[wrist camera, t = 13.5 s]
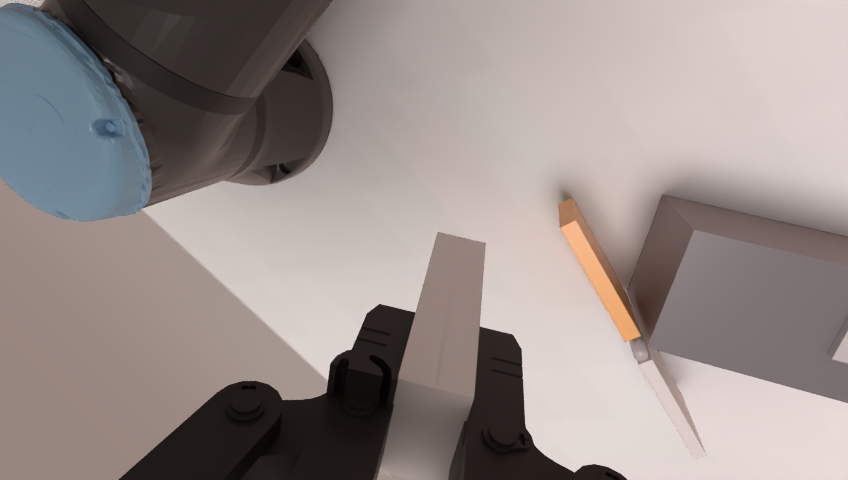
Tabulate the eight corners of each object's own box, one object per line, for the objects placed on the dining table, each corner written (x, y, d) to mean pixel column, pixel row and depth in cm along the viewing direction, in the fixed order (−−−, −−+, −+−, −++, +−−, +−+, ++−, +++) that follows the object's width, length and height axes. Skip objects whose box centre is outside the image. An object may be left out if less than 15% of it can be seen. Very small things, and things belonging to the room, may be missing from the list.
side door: (558, 202, 43) (560, 230, 35) (571, 195, 42) (575, 223, 35) (668, 395, 46) (692, 461, 38) (681, 391, 46) (708, 457, 38)
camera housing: (626, 292, 45) (647, 354, 35) (662, 194, 42) (696, 232, 32) (847, 350, 42) (936, 434, 32) (904, 250, 39) (1023, 310, 29)
